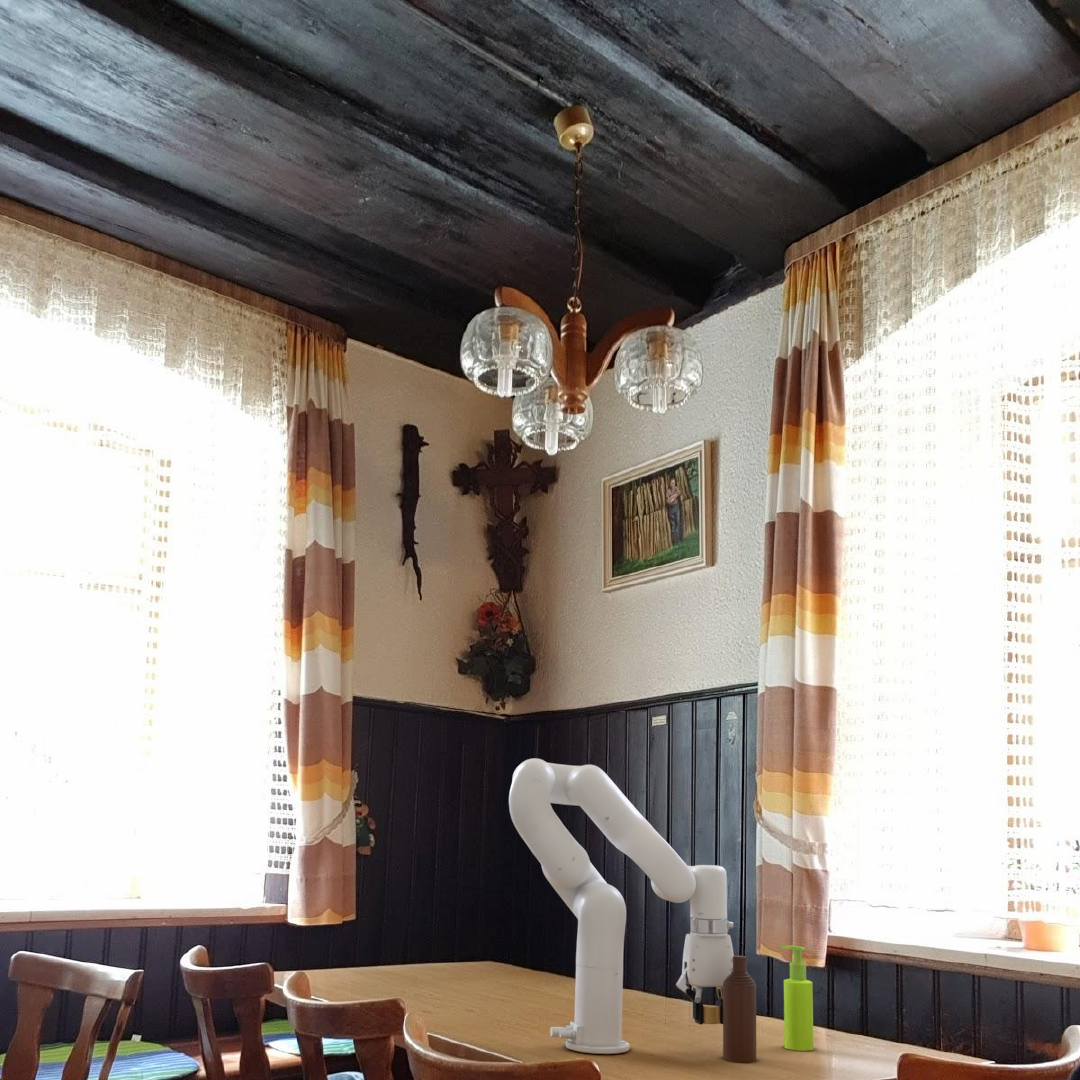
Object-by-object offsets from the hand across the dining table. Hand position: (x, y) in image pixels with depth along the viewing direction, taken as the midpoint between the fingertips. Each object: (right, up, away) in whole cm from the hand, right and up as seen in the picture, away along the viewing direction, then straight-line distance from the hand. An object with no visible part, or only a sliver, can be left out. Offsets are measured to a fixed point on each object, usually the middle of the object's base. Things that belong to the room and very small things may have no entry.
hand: (709, 1022), depth 236 cm
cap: (0, 0, 0) cm, 0 cm away
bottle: (+5, -4, -8) cm, 10 cm away
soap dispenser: (+19, -8, +7) cm, 22 cm away
